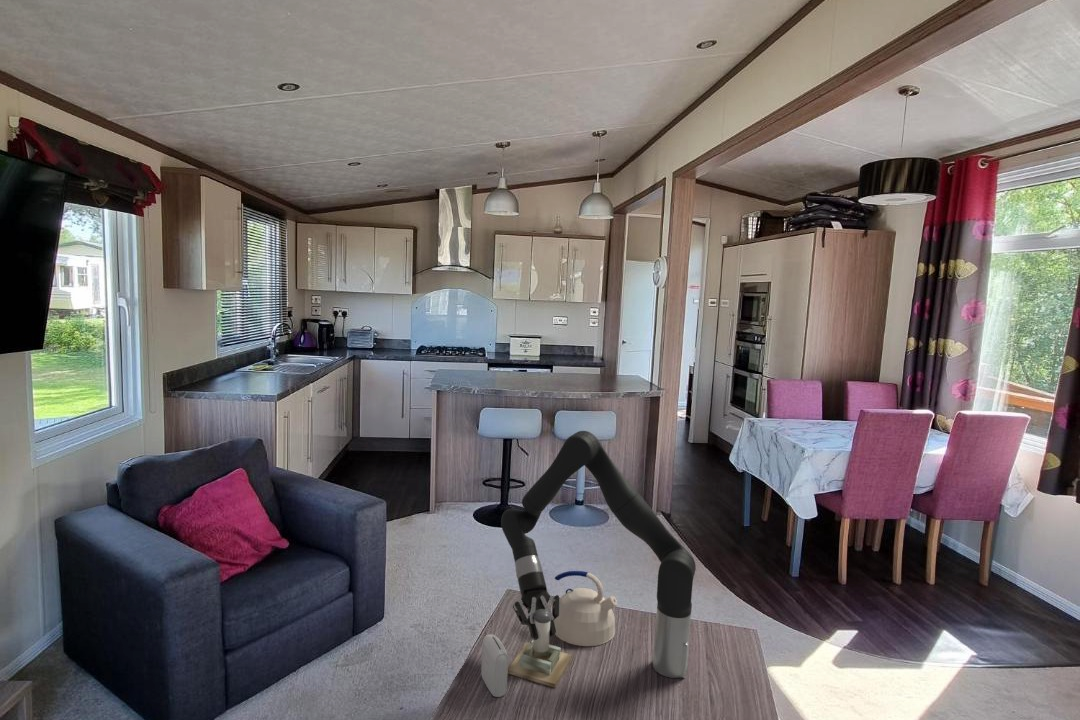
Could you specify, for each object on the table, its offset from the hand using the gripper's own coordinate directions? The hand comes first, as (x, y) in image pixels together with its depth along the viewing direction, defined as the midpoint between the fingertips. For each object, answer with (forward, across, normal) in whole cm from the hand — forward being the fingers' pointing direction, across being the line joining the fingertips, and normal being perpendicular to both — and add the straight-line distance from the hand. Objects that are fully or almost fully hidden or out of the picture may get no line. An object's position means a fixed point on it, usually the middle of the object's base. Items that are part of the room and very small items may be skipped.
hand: (544, 637), depth 159 cm
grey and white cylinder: (+2, 0, +4) cm, 4 cm away
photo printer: (+8, -15, +6) cm, 18 cm away
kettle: (-4, +20, +17) cm, 27 cm away
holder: (+5, 0, +8) cm, 9 cm away
